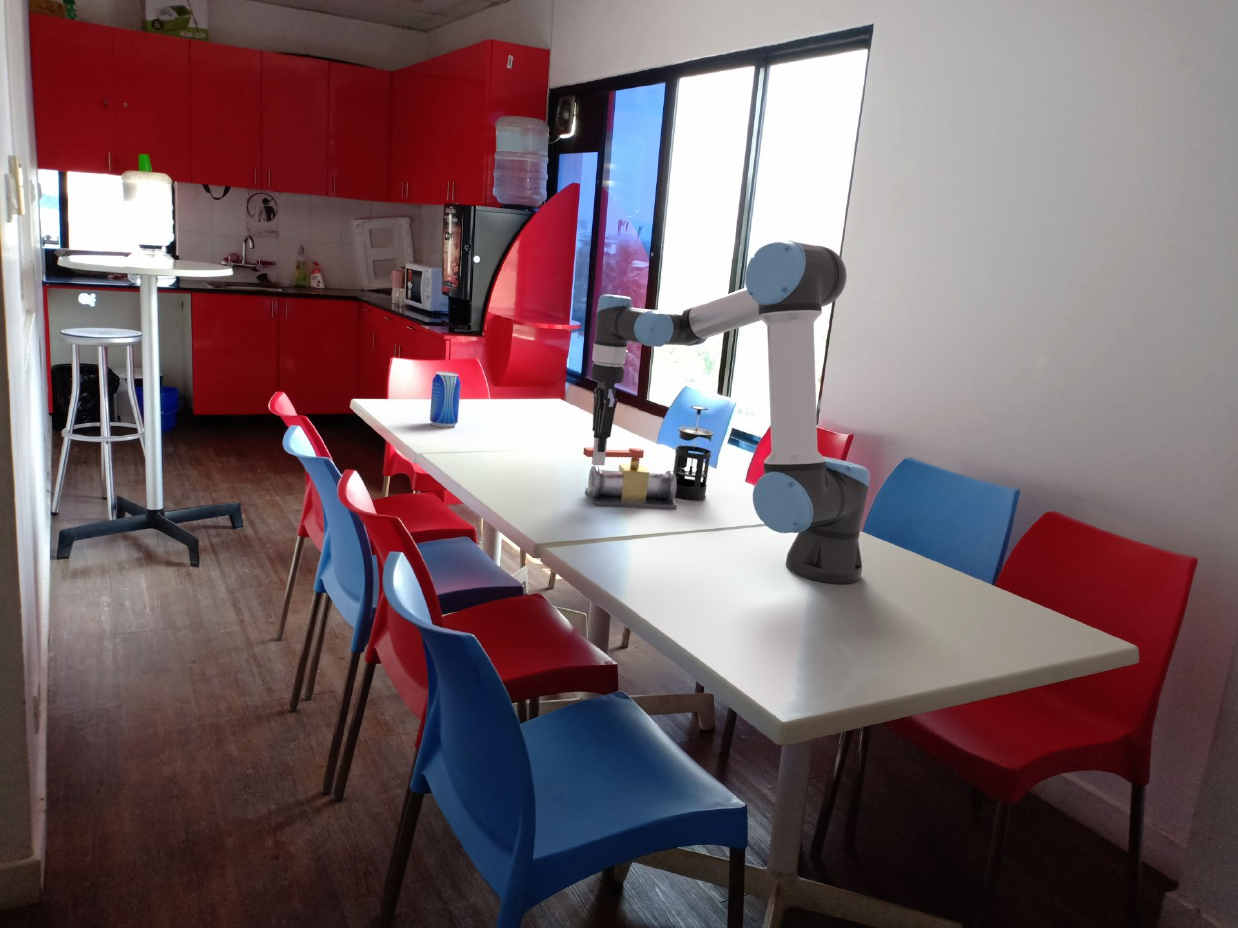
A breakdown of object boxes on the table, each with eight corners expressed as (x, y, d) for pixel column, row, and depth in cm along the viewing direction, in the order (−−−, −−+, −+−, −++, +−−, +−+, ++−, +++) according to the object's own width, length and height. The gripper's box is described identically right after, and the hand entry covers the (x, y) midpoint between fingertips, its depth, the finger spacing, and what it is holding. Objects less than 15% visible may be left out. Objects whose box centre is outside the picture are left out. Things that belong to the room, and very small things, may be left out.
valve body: (663, 495, 232) (668, 455, 230) (676, 509, 221) (682, 467, 218) (585, 491, 227) (589, 449, 225) (594, 505, 216) (599, 461, 214)
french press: (713, 501, 232) (726, 411, 227) (679, 501, 228) (692, 410, 223) (692, 488, 243) (704, 402, 237) (660, 488, 239) (671, 400, 234)
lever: (639, 454, 224) (640, 448, 224) (645, 458, 221) (646, 451, 220) (582, 453, 218) (583, 447, 217) (588, 457, 215) (589, 450, 214)
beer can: (426, 422, 285) (430, 370, 281) (453, 422, 289) (457, 371, 285) (433, 428, 278) (436, 375, 274) (460, 428, 281) (464, 376, 278)
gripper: (632, 369, 205) (620, 472, 211) (617, 361, 217) (606, 458, 223) (599, 366, 203) (588, 470, 209) (586, 358, 215) (576, 457, 221)
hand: (598, 464), depth 216 cm, fingers closed
